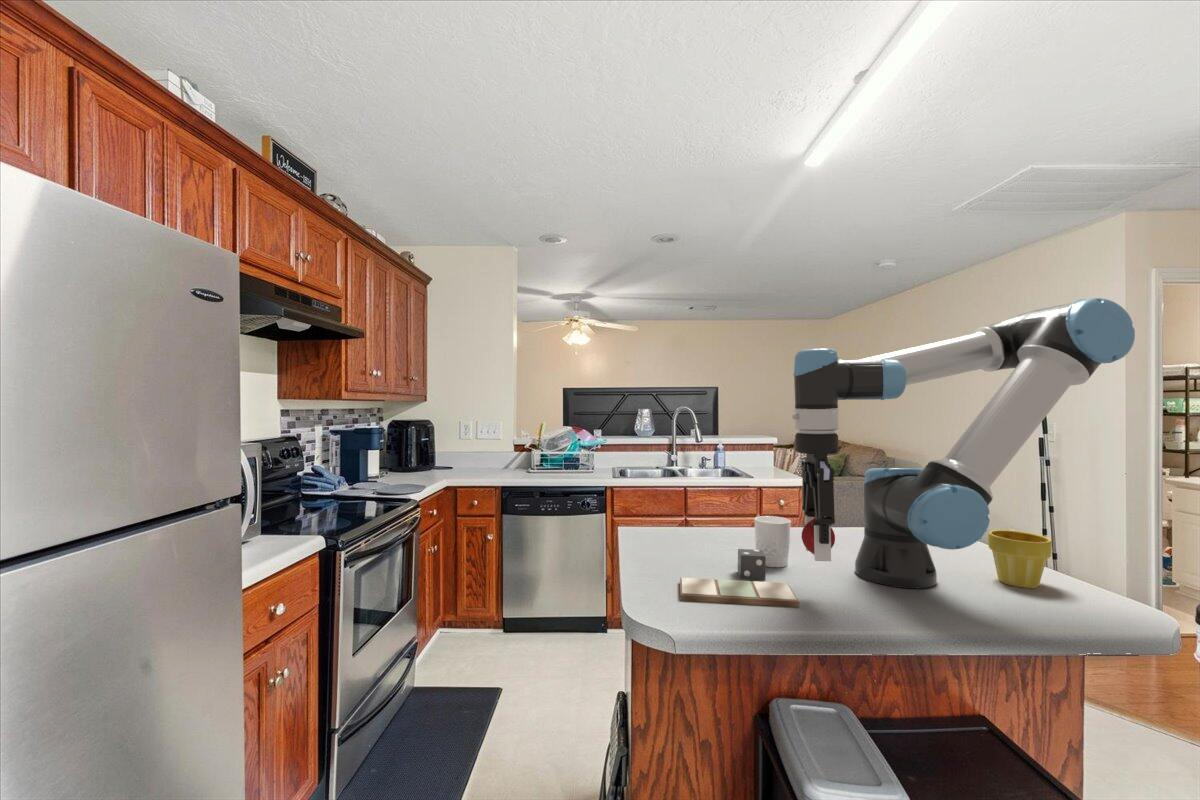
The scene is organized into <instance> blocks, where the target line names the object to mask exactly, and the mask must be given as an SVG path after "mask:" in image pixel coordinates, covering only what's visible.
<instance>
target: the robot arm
mask: <svg viewBox="0 0 1200 800" xmlns="http://www.w3.org/2000/svg"><path fill="white" fill-rule="evenodd" d="M1133 324H1134V323H1133V319H1132V318H1131V316H1130V315H1129V313H1128V312H1127V310H1126V309H1125V308H1124V307H1123V306H1121V305H1120V304H1118V303H1117V302H1115V301H1112V300H1110V299H1106V298H1100V297H1099V298H1096V297H1095V298H1088V299H1086V298H1084V299H1077V300H1075V301H1073V302H1068V303H1064V304H1059V305H1055V306H1054V305H1053V306H1050V307H1045V308H1040V309H1035V310H1031V311H1028V312H1025V313H1022V314H1021V313H1020V314H1019V315H1016V316H1013V317H1011V318H1008V319H1006V320H1005V319H1004V320H1002V321H999V322H996V323H992V324H989V325H984V326H980V327H977V328H976V329H974V330H973V332H972V333H970V334H967V335H966V334H965V335H961V336H958V337H954V338H948V339H945V340H939V341H936V342H932V343H927V344H922V345H918V346H914V347H913V346H912V347H909V348H904V349H899V350H896V351H891V352H886V353H883V354H877V355H873V356H869V357H865V358H861V359H860V358H859V359H848V360H847V359H839V356H838V352H837V350H836V349H833V348H810V349H809V348H808V349H802V350H799V351H797V352H796V354H795V355H794V366H793V367H794V368H793V377H794V378H793V379H794V383H793V384H794V414H792V415H791V419H793V420H795V422H794V423H795V424H794V425H795V426H794V427H795V430H797V431H798V432H796V433H795V435H794V437H795V438H794V442H795V443H794V447H795V448H794V449H795V452H796V453H799V454H803V455H806V456H805V460H802V461H801V464H800V465H801V470H802V472H801V473H802V477H801V478H802V486H801V487H802V488H801V489H802V498H801V499H802V507H801V508H802V511H803V512H804V517H805V521H804V522H805V525H806V524H807V523H808V522H810V521H811V520H813V519H814V517H815V518H816V521H815V522H812V525H814V554H813V558H814V561H815V562H832V548H831V528H832V527H831V526H832V525H835V523H836V520H835V494H834V493H835V492H834V491H835V490H834V486H835V485H834V479H835V469H834V468H832V467H831V464H830V463H829V459H828V455H835V454H838V452H839V434H838V433H836V431H838V429H839V404H838V403H839V401H845V400H846V401H847V400H849V401H850V400H851V401H855V400H856V401H858V400H859V401H860V400H862V401H863V400H864V401H865V400H866V401H867V400H871V401H872V400H876V401H877V400H881V401H884V400H885V401H886V400H895V399H897V398H900V397H901V396H902V395H903V394H904V392H905V390H906V387H907V386H910V385H914V384H919V383H923V382H928V381H932V380H937V379H941V378H946V377H947V378H948V377H952V376H956V375H960V374H964V373H969V372H974V371H977V370H982V371H984V372H989V373H990V372H995V371H1001V370H1007V369H1014V370H1012V372H1011V373H1010V374H1009V375H1008V377H1007V378H1005V381H1003V383H1002V384H1001V386H1000V387H999V388H998V389H997V391H996V392H995V393H994V394H993V396H992V397H991V398H990V400H988V402H987V403H986V405H984V407H983V408H982V410H981V411H980V412H979V413H978V415H977V416H976V417H975V418H974V419H973V421H972V422H971V423H970V425H969V426H968V427H967V428H966V430H965V431H964V432H963V433H962V435H961V436H960V437H959V438H958V440H957V441H956V442H955V444H954V445H953V446H952V448H951V449H950V450H949V451H948V453H947V454H946V455H945V456H944V458H942V459H935V460H930V461H929V462H928V463H927V464H926V466H925V467H924V468H917V467H916V468H915V467H914V468H913V467H910V468H909V467H907V468H906V467H901V468H900V467H883V468H882V467H880V468H879V467H877V468H876V467H875V468H873V467H872V468H869V469H867V470H866V471H865V474H864V482H863V488H864V489H863V491H864V492H863V493H864V495H863V497H864V498H863V499H864V500H863V502H864V504H863V505H864V506H863V507H864V508H863V509H864V510H863V511H864V512H863V514H864V515H863V517H864V520H863V521H864V523H863V525H864V533H863V540H862V541H861V545H860V547H859V551H858V553H857V555H856V558H855V560H854V561H855V563H854V572H855V574H856V575H857V576H859V577H860V578H862V579H864V580H868V581H870V582H873V583H877V584H880V585H884V586H890V587H897V588H905V589H925V588H931V587H934V586H936V585H937V581H938V579H937V578H938V577H937V570H936V567H935V564H934V561H933V557H932V555H931V553H930V550H929V547H928V545H929V546H931V547H937V548H940V549H943V550H960V549H964V548H965V549H966V548H968V547H970V546H972V545H974V544H975V543H977V542H978V541H980V539H981V538H982V537H983V536H985V534H986V532H987V531H988V529H989V525H990V522H991V521H990V517H989V515H990V514H991V513H990V512H991V511H990V508H989V505H990V504H991V502H992V501H993V499H994V496H993V493H992V489H991V486H992V485H993V484H994V482H995V481H996V480H997V479H998V478H999V476H1000V475H1001V473H1003V471H1004V470H1005V469H1006V467H1007V466H1008V465H1009V463H1010V462H1011V461H1012V460H1013V459H1014V457H1015V456H1016V455H1017V454H1018V452H1019V451H1020V449H1022V447H1023V446H1024V444H1025V443H1026V442H1027V441H1028V440H1029V438H1030V437H1031V436H1032V434H1033V433H1035V431H1036V429H1037V428H1038V427H1039V426H1040V424H1041V423H1042V422H1043V420H1045V418H1046V417H1047V416H1048V415H1049V413H1050V412H1051V411H1052V409H1054V406H1056V404H1057V403H1058V401H1059V400H1061V398H1062V397H1063V396H1064V394H1065V393H1066V392H1067V391H1068V389H1069V388H1070V387H1071V386H1079V385H1082V384H1085V383H1086V382H1087V381H1088V380H1090V378H1091V376H1092V375H1093V374H1094V372H1095V371H1096V370H1097V369H1098V368H1099V366H1101V365H1102V364H1111V363H1114V362H1115V361H1119V360H1122V359H1123V358H1125V357H1126V356H1127V354H1129V352H1130V351H1131V349H1132V348H1133V345H1134V343H1135V339H1136V338H1135V336H1136V333H1135V332H1136V331H1135V328H1134V326H1133ZM805 551H806V552H810V551H809V550H808V549H807V548H806V547H805Z"/></svg>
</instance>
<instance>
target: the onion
mask: <svg viewBox="0 0 1200 800" xmlns="http://www.w3.org/2000/svg"><path fill="white" fill-rule="evenodd" d="M815 521H816V518H815V517H814V519H813V520H811V521H810V522H808V523H807V524H806V523H805V525H804V527H803V528H802V530H801V541H802V544H803V545H804V548H805V549H806V548H807V549H808V550H809V551H808V552H810V553H811V554H812V555H814V525H812V522H815ZM835 542H836V535H835V532H834V530H833V528H832V527H831V549H833V547H834V545H835Z"/></svg>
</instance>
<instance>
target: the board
mask: <svg viewBox="0 0 1200 800" xmlns="http://www.w3.org/2000/svg"><path fill="white" fill-rule="evenodd" d="M679 587H680V588H679V590H680V593H679V595H680V601H683V602H701V603H702V602H703V603H716V604H717V603H719V604H733V605H734V604H738V605H752V606H753V605H754V606H770V607H771V606H774V607H791V608H800V601H799V599H798V598H797V596H796V594H795V593H794V591H793V590H792V588H791V586H790V585H789V583H787V582H778V581H777V582H775V581H774V582H773V581H759V580H758V581H757V580H751V581H750V580H739V579H738V580H737V579H735V580H733V579H714V578H700V577H699V578H696V577H680V578H679Z"/></svg>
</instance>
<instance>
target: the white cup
mask: <svg viewBox="0 0 1200 800" xmlns="http://www.w3.org/2000/svg"><path fill="white" fill-rule="evenodd" d="M791 524H792V521H791V519H789V518H786V517H783V516H781V517H780V516H776V515H775V516H773V515H761V516H756V517H754V534H755V535H754V537H755V538H754V539H755V550H762V551H763V553H764V555H765V556H766V567H769V568H784V567H787V566H788V565H789V553H790V541H791Z"/></svg>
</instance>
